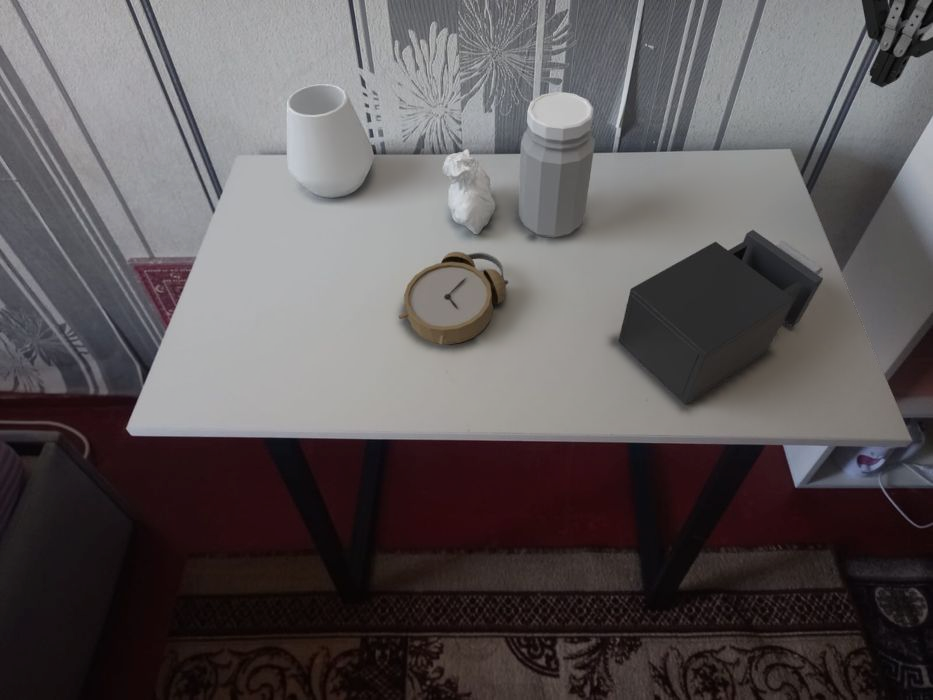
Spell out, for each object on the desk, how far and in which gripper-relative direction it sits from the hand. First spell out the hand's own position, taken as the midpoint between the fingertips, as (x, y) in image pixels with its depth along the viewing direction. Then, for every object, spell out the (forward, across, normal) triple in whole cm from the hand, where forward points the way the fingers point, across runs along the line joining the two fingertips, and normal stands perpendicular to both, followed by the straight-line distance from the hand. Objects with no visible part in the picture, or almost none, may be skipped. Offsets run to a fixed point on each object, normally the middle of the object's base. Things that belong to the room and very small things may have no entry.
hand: (880, 82), depth 75 cm
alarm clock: (+23, +18, +48) cm, 56 cm away
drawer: (+22, -5, +19) cm, 30 cm away
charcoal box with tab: (+23, -5, +28) cm, 37 cm away
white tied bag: (+23, +32, +36) cm, 53 cm away
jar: (+23, +24, +27) cm, 43 cm away
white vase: (+23, +52, +49) cm, 75 cm away
